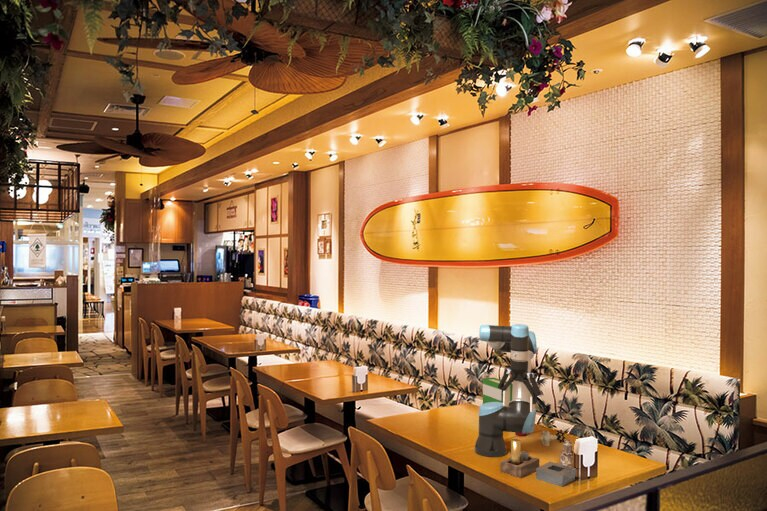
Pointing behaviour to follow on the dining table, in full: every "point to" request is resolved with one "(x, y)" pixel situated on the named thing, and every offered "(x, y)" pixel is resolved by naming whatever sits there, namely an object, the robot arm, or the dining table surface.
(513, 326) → the robot arm
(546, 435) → the valve
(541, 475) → the socket block
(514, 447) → the translucent yellow cylinder
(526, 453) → the box
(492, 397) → the hardback book
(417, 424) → the dining table surface
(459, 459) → the dining table surface
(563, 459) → the figurine
